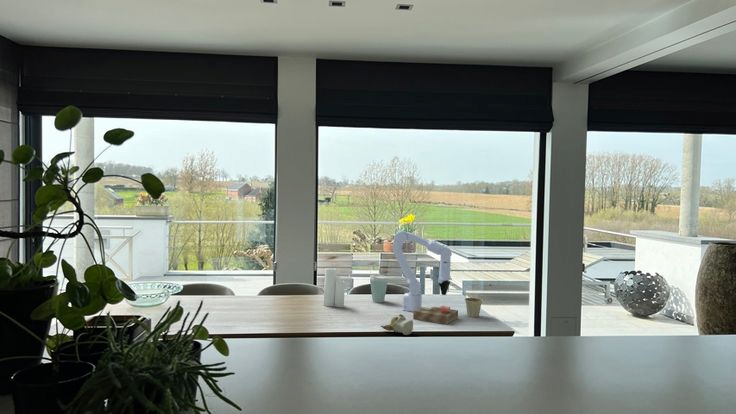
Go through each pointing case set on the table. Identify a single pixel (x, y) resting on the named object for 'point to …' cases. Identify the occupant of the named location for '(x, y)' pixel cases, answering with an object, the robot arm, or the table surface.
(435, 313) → the panel
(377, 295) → the disposable coffee cup
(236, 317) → the table surface
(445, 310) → the red button
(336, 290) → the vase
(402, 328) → the ceramic sculpture
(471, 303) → the flower pot
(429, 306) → the cream button
